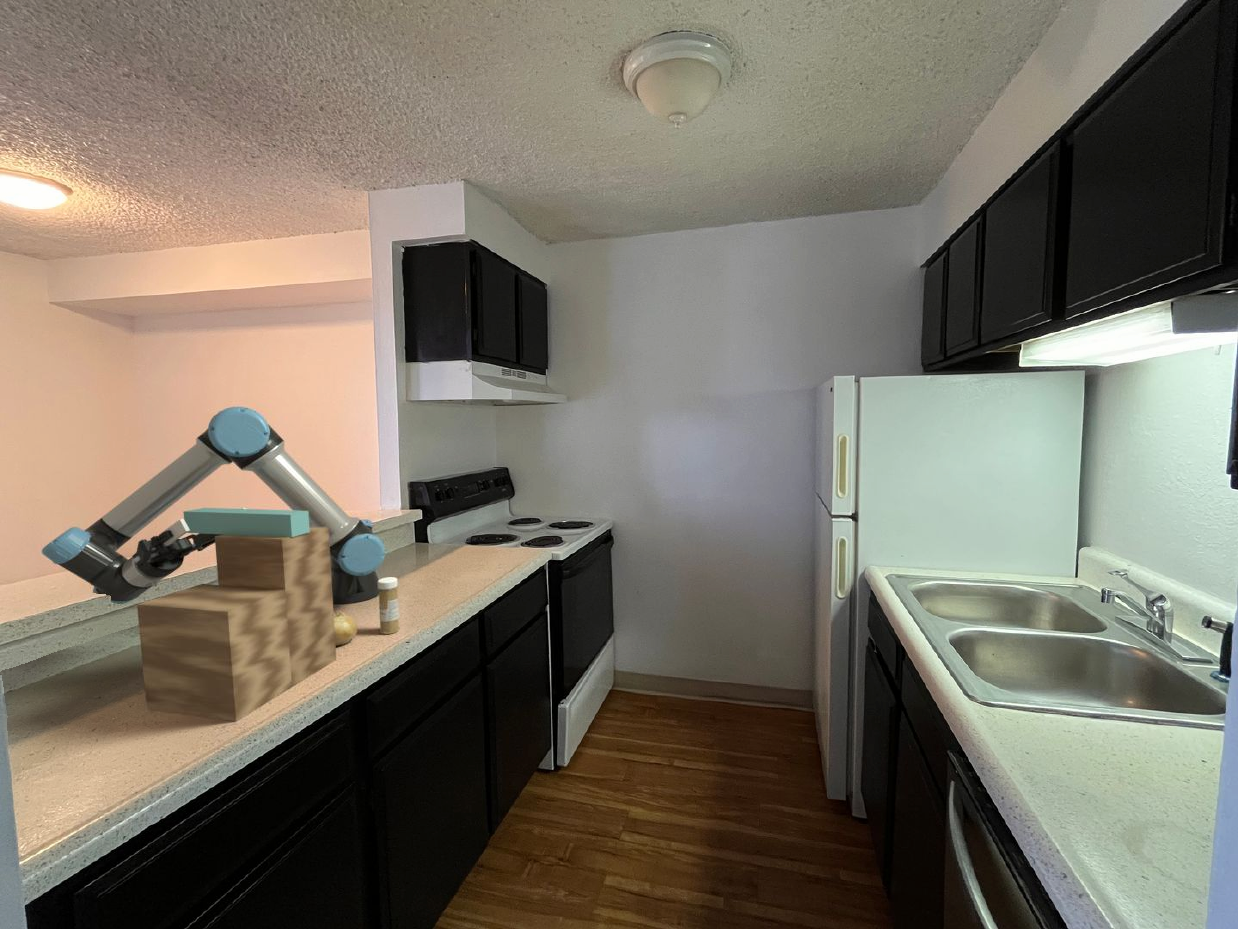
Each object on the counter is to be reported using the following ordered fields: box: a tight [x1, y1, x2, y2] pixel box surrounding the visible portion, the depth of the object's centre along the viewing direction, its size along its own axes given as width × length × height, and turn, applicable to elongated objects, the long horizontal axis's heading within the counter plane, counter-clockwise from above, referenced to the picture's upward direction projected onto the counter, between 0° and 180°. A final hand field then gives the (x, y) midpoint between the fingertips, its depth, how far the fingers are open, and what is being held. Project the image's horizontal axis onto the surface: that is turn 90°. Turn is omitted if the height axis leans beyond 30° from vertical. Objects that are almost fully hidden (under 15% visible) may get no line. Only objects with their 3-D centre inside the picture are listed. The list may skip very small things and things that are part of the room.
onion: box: [333, 611, 358, 647], centre depth 123 cm, size 8×8×7 cm
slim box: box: [182, 507, 310, 537], centre depth 107 cm, size 4×26×4 cm, turn 79°
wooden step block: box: [136, 526, 337, 722], centre depth 104 cm, size 24×20×30 cm
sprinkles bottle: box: [378, 576, 400, 635], centre depth 129 cm, size 5×5×14 cm
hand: (217, 518), depth 110 cm, fingers open, 13 cm apart
